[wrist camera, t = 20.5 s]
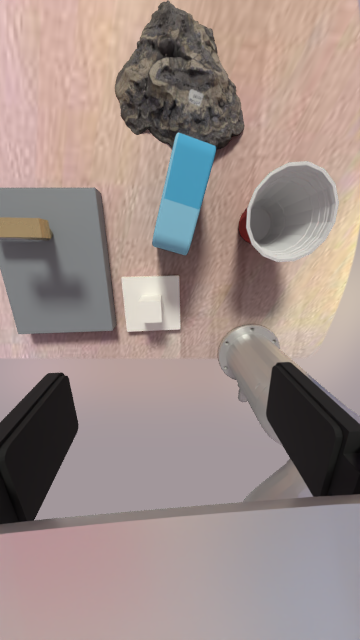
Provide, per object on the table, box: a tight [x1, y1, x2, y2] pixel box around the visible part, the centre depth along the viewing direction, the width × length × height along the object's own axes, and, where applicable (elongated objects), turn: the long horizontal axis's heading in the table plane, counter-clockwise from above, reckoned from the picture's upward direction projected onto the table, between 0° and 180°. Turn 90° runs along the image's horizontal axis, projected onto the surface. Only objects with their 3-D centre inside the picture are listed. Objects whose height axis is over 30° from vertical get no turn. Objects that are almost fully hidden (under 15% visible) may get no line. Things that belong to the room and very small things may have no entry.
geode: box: [115, 1, 244, 149], centre depth 28 cm, size 19×4×15 cm
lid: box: [121, 275, 180, 332], centre depth 37 cm, size 10×10×6 cm
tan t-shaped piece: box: [0, 217, 53, 240], centre depth 27 cm, size 11×2×9 cm, turn 90°
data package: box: [152, 133, 216, 255], centre depth 29 cm, size 12×4×12 cm, turn 165°
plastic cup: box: [239, 161, 339, 262], centre depth 30 cm, size 11×11×12 cm
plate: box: [0, 188, 116, 334], centre depth 35 cm, size 22×16×3 cm
